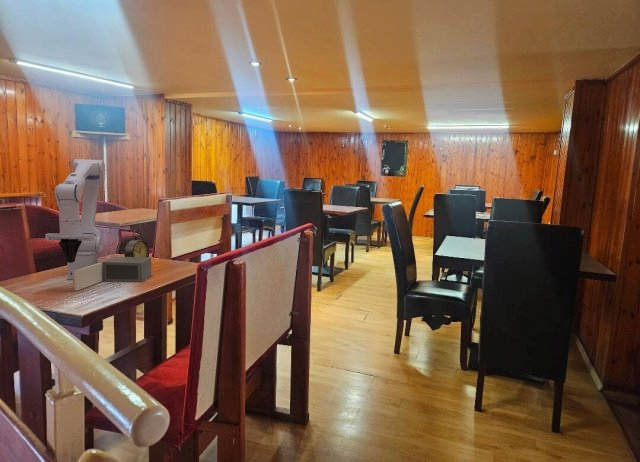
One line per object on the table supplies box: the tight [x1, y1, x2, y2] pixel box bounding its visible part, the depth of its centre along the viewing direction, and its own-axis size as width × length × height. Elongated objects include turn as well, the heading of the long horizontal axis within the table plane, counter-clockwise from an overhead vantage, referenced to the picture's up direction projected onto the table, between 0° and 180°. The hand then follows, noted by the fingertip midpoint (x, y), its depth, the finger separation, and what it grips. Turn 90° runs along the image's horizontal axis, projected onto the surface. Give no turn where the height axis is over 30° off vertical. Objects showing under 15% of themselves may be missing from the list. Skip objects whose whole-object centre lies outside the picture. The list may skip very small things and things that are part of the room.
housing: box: [101, 256, 152, 283], centre depth 157 cm, size 14×10×7 cm
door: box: [71, 262, 104, 291], centre depth 145 cm, size 14×2×7 cm, turn 173°
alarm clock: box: [123, 229, 150, 258], centre depth 172 cm, size 11×5×16 cm, turn 168°
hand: (71, 262), depth 139 cm, fingers closed
